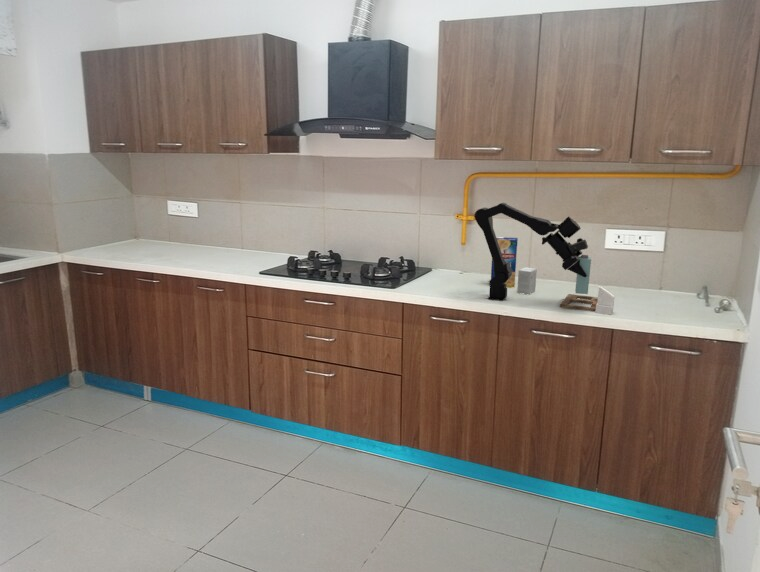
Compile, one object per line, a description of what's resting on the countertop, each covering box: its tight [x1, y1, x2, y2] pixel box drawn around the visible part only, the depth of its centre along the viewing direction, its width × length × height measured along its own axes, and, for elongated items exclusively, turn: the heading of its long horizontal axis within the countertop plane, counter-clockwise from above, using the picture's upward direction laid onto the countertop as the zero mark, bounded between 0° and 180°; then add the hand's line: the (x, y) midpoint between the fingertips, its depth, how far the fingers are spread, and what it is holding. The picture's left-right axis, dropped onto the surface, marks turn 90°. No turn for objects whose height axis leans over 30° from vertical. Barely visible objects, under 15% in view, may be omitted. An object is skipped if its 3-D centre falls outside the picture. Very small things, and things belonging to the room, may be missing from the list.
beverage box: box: [490, 236, 519, 288], centre depth 266 cm, size 7×11×22 cm, turn 76°
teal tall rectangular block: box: [574, 254, 592, 295], centre depth 228 cm, size 4×4×15 cm
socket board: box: [559, 293, 598, 312], centre depth 237 cm, size 14×19×2 cm
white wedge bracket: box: [594, 285, 616, 316], centre depth 224 cm, size 4×10×9 cm, turn 56°
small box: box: [517, 266, 538, 295], centre depth 255 cm, size 8×6×10 cm
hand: (586, 275), depth 228 cm, fingers closed on teal tall rectangular block, 5 cm apart
